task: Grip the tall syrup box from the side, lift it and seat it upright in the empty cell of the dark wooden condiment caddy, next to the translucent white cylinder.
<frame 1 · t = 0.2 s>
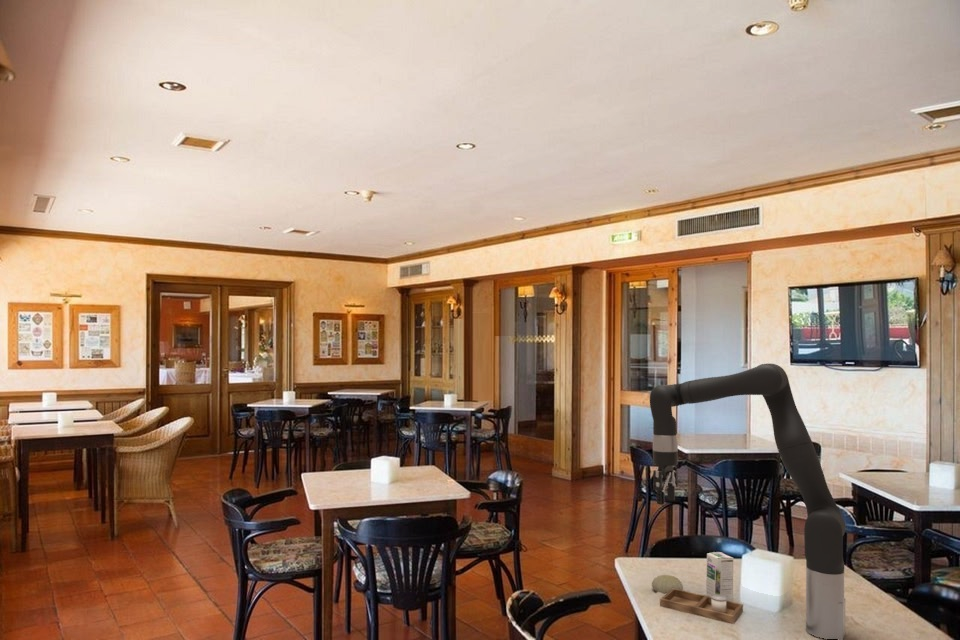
hand: (666, 502, 209), 29 cm above the table, tool pointing down, fingers open, 8 cm apart
caddy: (701, 612, 195), on the table
syrup box: (719, 604, 202), on the table
sea urchin shell: (667, 592, 211), on the table
translucent white cylinder: (718, 612, 192), point 1 cm above the table, touching caddy
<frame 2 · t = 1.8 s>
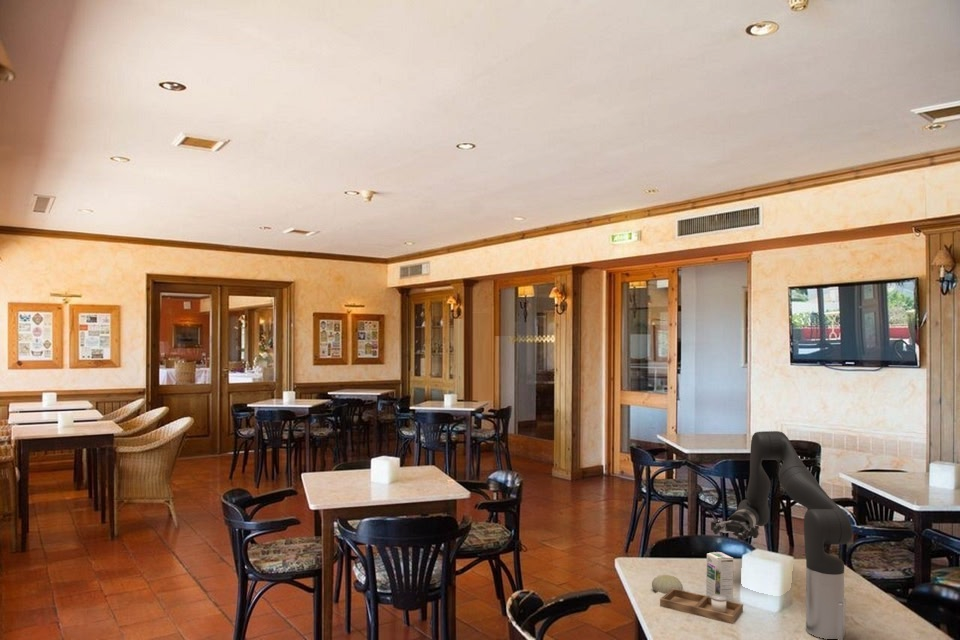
hand: (729, 533, 212), 18 cm above the table, tool horizontal, fingers open, 8 cm apart
nothing on the table moved.
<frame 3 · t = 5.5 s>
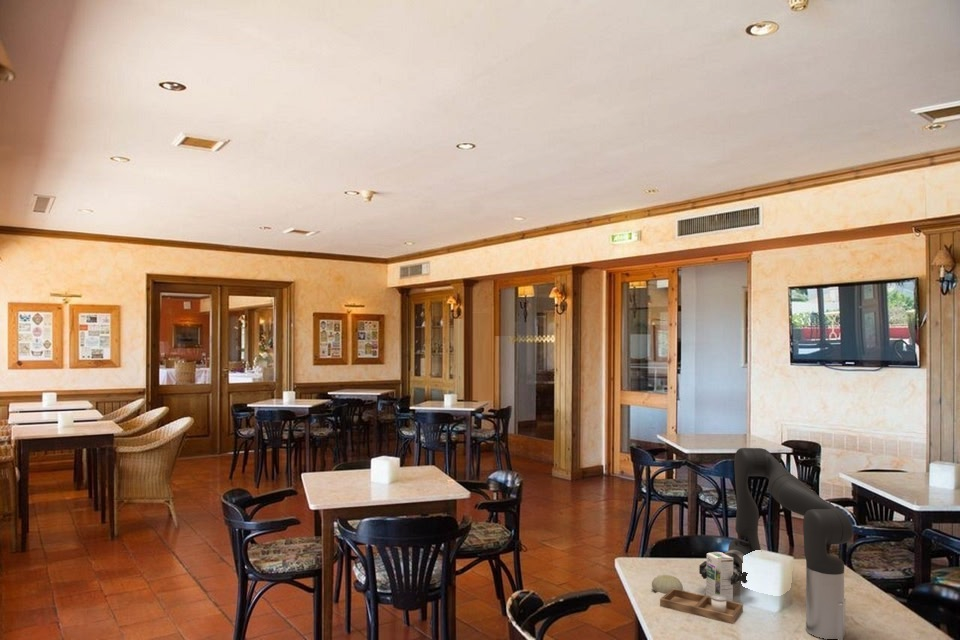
hand: (717, 578, 201), 8 cm above the table, tool horizontal, fingers closed on syrup box, 7 cm apart
syrup box: (719, 604, 202), on the table, touching gripper
everything else where it was.
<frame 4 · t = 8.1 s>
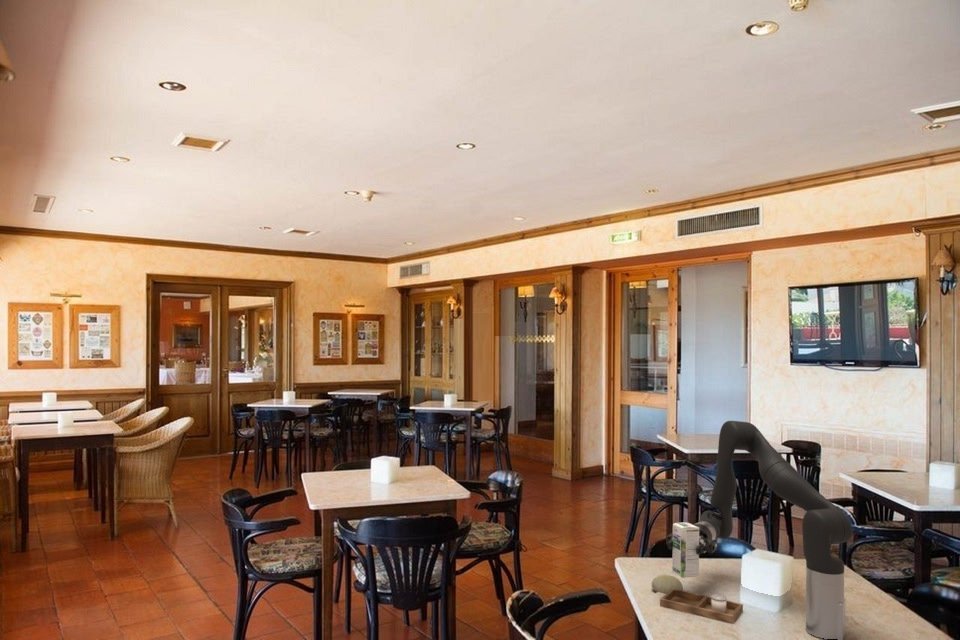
hand: (683, 548, 197), 18 cm above the table, tool horizontal, fingers closed on syrup box, 7 cm apart
syrup box: (685, 574, 199), point 9 cm above the table, touching gripper
everything else where it was.
when the fingers open (10 cm above the table, at t = 10.7 s): syrup box drops 1 cm, resting on caddy.
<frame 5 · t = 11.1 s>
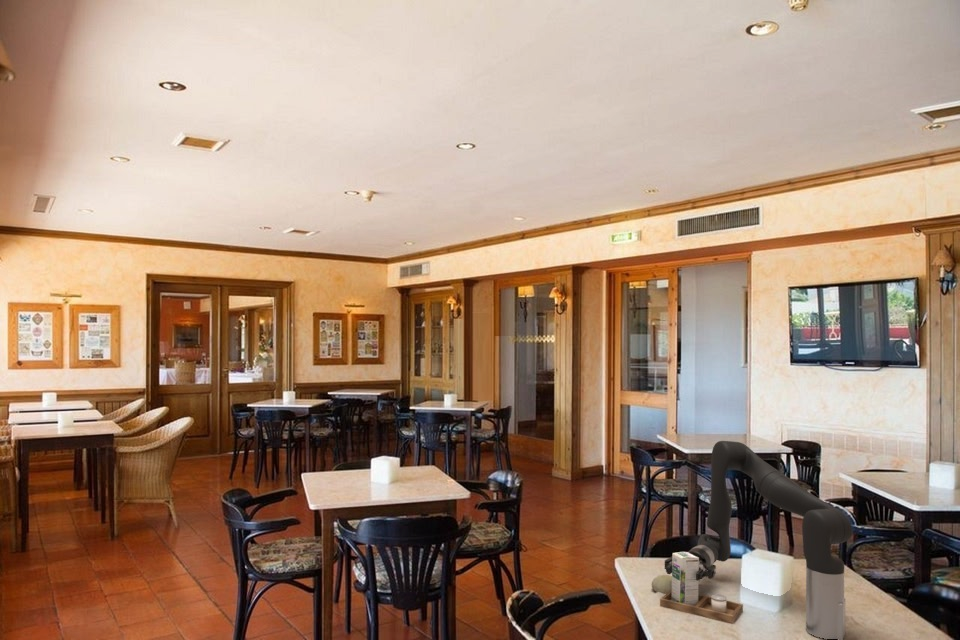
hand: (682, 573, 197), 10 cm above the table, tool horizontal, fingers open, 8 cm apart
syrup box: (684, 605, 198), point 1 cm above the table, touching caddy, gripper
everything else where it was.
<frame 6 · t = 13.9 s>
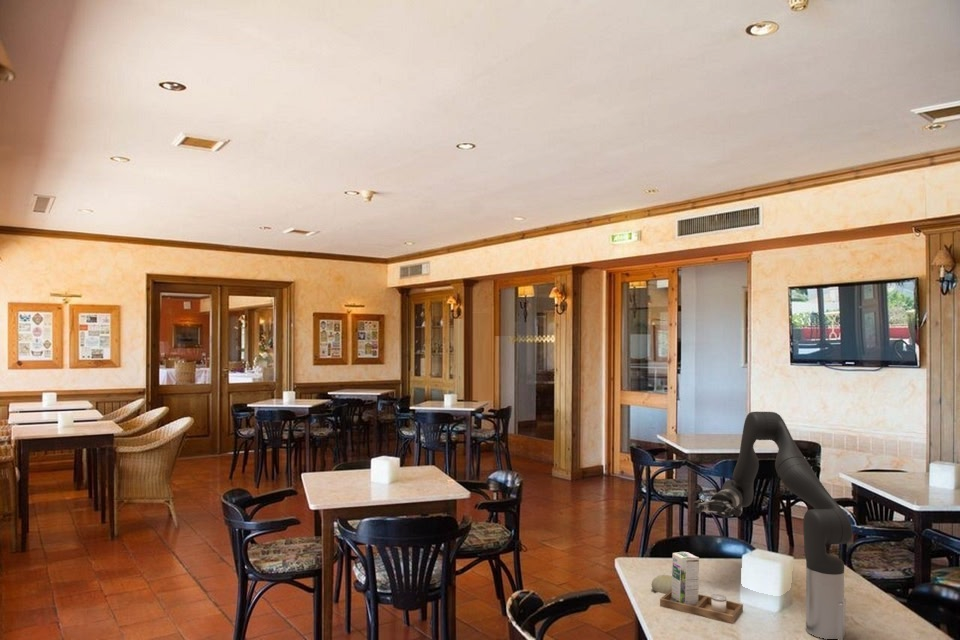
hand: (711, 512, 209), 26 cm above the table, tool horizontal, fingers open, 8 cm apart
syrup box: (684, 605, 198), point 1 cm above the table, touching caddy
everything else where it was.
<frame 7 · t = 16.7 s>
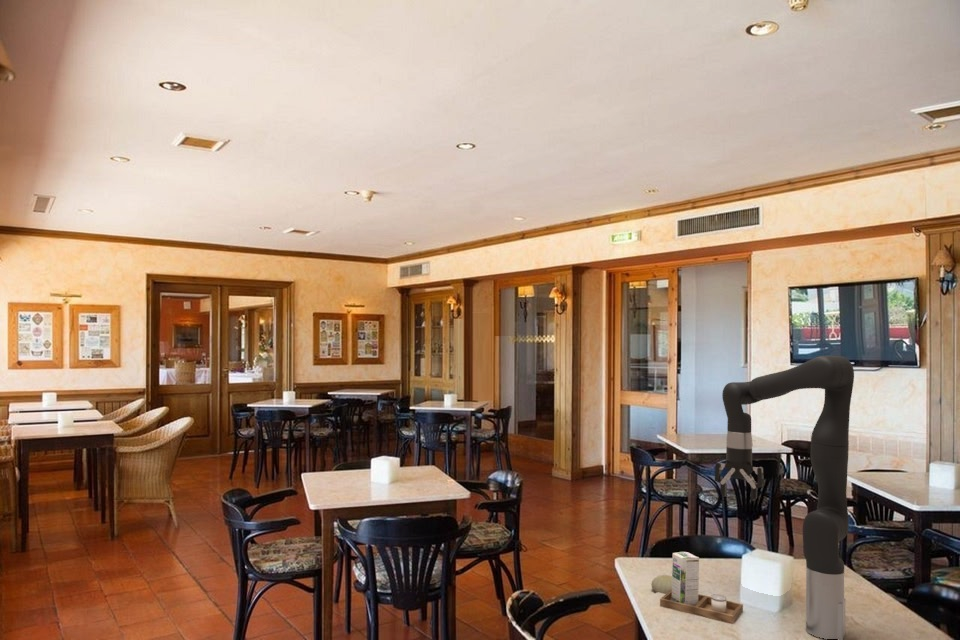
hand: (738, 498, 210), 30 cm above the table, tool pointing down, fingers open, 8 cm apart
nothing on the table moved.
at the end: syrup box 0.5 cm from the target spot on the caddy, point 0.8 cm above the caddy's base; syrup box tilted 0°; the gripper is holding nothing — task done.
